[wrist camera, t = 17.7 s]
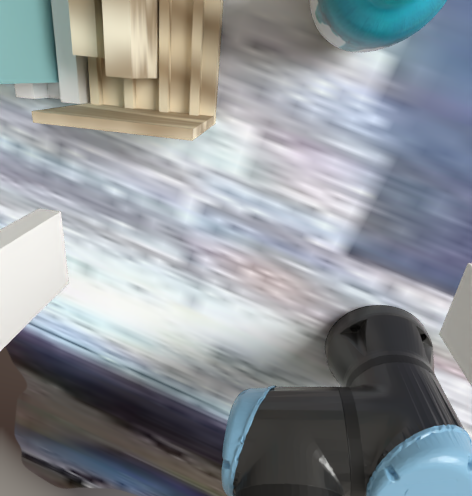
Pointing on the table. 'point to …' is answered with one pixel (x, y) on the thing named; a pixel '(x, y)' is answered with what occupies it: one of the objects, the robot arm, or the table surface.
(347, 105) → the table surface
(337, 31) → the vase
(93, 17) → the offcut short
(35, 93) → the stand
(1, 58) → the teal rectangular panel
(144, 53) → the offcut tall
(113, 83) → the rack
